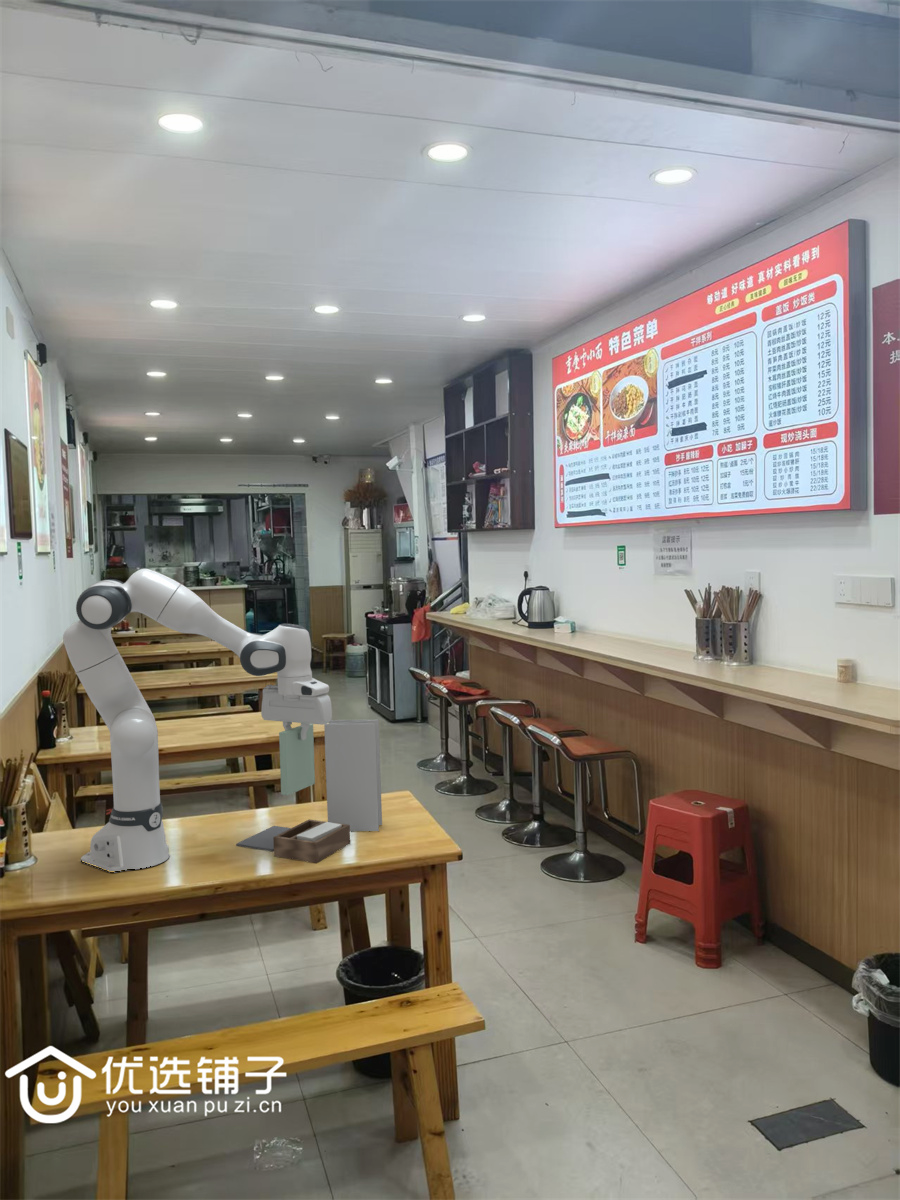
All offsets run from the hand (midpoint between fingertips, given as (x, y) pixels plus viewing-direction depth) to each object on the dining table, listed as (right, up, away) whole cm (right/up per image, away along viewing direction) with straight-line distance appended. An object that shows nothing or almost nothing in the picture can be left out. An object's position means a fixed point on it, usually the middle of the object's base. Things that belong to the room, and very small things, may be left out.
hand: (296, 739), depth 222 cm
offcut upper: (+6, -26, -1) cm, 27 cm away
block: (0, -13, +1) cm, 13 cm away
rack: (+4, -29, 0) cm, 29 cm away
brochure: (+13, -28, +16) cm, 35 cm away
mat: (-8, -29, +9) cm, 31 cm away
